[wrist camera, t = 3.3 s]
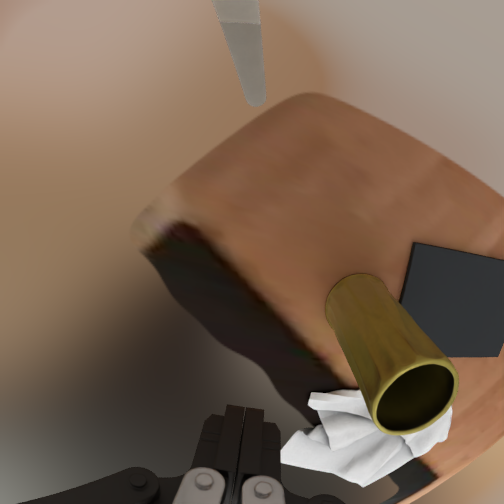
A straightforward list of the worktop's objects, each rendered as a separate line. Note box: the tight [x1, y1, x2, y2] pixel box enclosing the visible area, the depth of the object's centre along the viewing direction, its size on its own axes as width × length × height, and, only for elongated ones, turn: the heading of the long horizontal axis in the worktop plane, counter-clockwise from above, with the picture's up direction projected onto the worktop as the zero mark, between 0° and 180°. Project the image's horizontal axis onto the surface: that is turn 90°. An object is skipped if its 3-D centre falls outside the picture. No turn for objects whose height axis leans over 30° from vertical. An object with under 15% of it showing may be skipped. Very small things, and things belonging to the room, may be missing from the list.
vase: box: [325, 274, 459, 435], centre depth 21 cm, size 6×6×14 cm
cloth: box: [280, 388, 452, 487], centre depth 30 cm, size 20×22×2 cm
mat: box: [399, 242, 504, 357], centre depth 27 cm, size 11×16×1 cm
